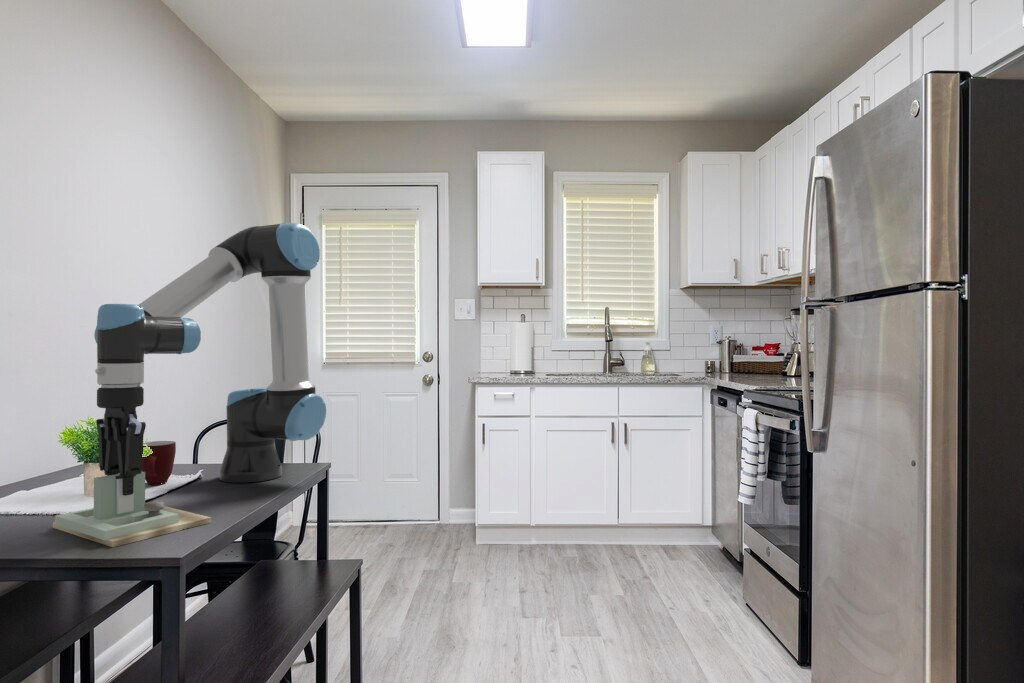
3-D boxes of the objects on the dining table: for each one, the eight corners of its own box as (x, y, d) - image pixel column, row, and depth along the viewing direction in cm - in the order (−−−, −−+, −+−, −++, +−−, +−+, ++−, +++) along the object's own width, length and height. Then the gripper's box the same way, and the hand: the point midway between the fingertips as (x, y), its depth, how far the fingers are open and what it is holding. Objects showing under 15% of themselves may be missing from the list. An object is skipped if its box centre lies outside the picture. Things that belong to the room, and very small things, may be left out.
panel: (127, 509, 130) (127, 464, 130) (178, 522, 120) (178, 474, 120) (54, 524, 119) (55, 475, 119) (104, 540, 109) (104, 487, 109)
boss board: (149, 507, 135) (149, 485, 135) (211, 522, 124) (211, 498, 124) (52, 527, 120) (52, 503, 120) (112, 547, 108) (112, 520, 108)
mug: (173, 487, 154) (173, 446, 154) (134, 490, 151) (135, 448, 151) (176, 478, 164) (177, 440, 164) (140, 481, 161) (141, 442, 161)
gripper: (78, 385, 121) (77, 509, 121) (121, 388, 113) (121, 521, 112) (119, 383, 127) (119, 501, 127) (164, 386, 119) (163, 512, 119)
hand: (120, 510), depth 120 cm, fingers open, 3 cm apart
